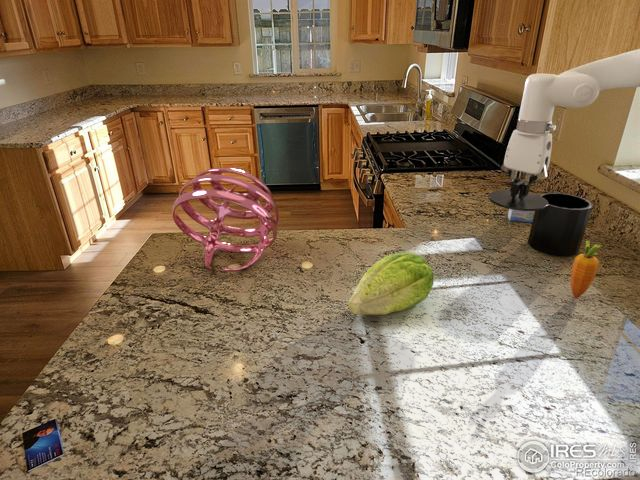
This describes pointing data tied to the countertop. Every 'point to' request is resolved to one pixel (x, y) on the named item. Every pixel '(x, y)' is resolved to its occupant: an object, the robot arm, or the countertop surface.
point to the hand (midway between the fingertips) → (518, 195)
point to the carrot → (584, 270)
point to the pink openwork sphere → (228, 213)
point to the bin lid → (518, 199)
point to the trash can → (560, 225)
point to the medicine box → (520, 216)
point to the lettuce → (392, 285)
